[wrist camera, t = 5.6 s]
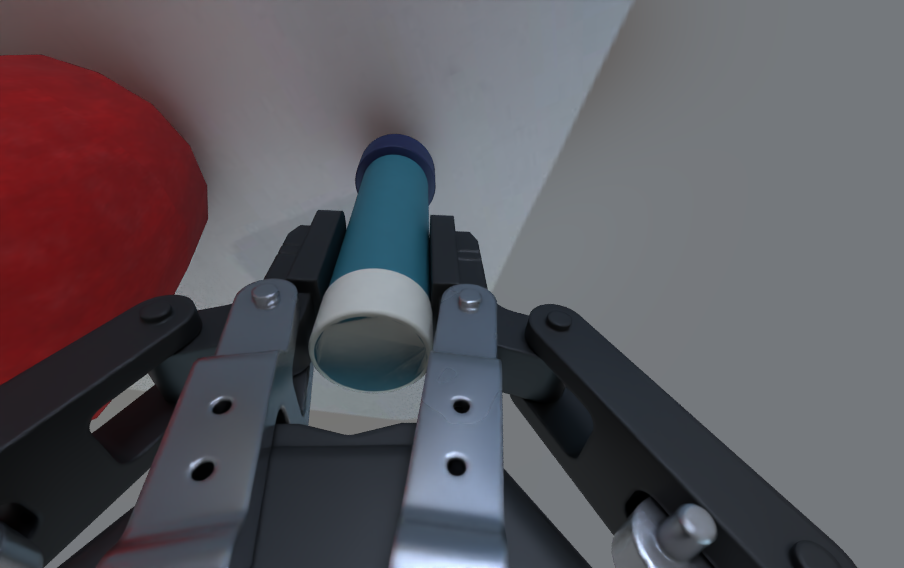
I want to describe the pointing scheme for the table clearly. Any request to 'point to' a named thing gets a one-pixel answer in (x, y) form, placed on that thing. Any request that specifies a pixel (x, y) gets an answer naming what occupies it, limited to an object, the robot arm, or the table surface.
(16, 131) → the apple
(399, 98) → the table surface
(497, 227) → the table surface
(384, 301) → the dot marker
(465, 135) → the table surface
